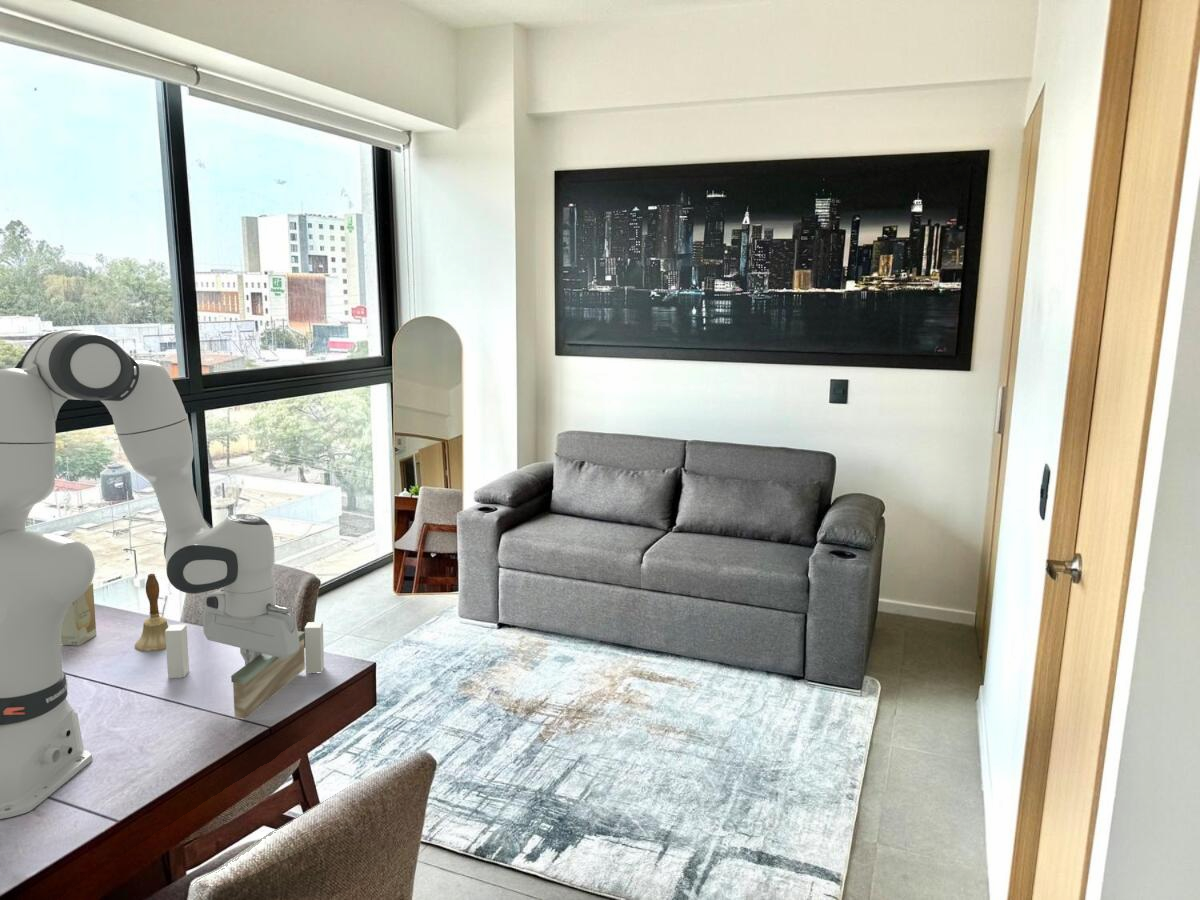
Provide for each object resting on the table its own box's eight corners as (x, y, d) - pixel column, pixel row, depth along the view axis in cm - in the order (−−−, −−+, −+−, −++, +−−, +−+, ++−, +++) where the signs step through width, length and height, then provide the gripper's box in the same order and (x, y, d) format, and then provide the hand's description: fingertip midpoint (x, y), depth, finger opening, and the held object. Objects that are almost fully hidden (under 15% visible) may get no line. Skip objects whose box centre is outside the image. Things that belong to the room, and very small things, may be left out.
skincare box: (79, 646, 178) (75, 592, 175) (59, 645, 178) (55, 591, 176) (98, 634, 184) (94, 582, 182) (78, 633, 184) (74, 581, 182)
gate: (306, 668, 168) (305, 631, 167) (246, 719, 148) (244, 677, 146) (294, 667, 169) (293, 630, 167) (233, 717, 148) (231, 675, 147)
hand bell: (174, 649, 178) (169, 578, 175) (130, 653, 175) (125, 581, 172) (180, 634, 185) (176, 566, 183) (139, 638, 183) (134, 569, 180)
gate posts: (321, 673, 169) (320, 627, 167) (168, 678, 164) (165, 630, 163) (324, 667, 172) (322, 621, 170) (173, 671, 167) (170, 624, 166)
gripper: (306, 604, 153) (307, 674, 155) (222, 586, 160) (224, 653, 162) (282, 615, 147) (283, 687, 149) (195, 596, 154) (198, 665, 157)
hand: (252, 669), depth 156 cm, fingers closed
